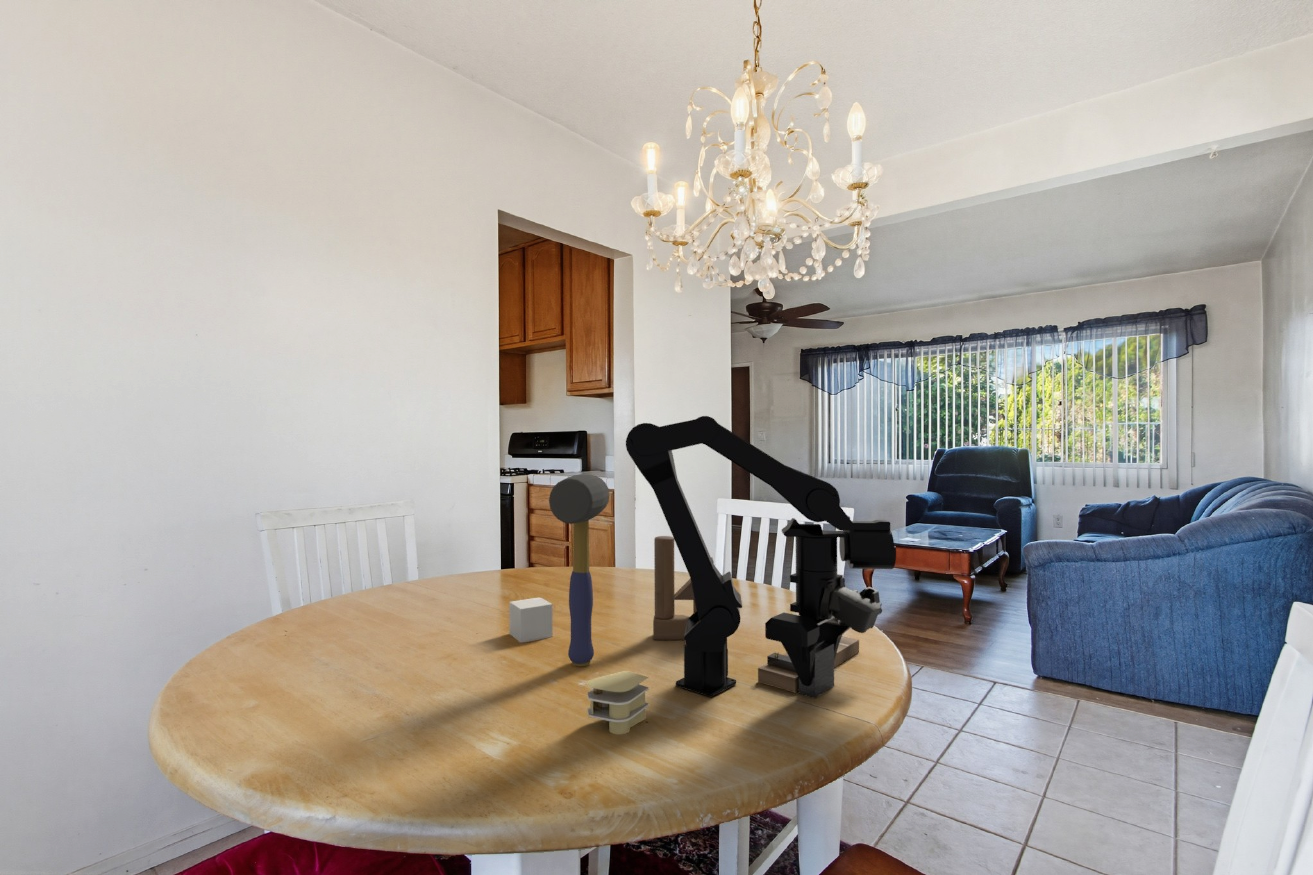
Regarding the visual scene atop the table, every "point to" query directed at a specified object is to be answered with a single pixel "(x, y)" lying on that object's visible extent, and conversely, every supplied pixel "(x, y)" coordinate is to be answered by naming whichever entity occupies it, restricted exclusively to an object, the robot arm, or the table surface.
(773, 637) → the robot arm
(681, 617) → the brown post on base
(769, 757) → the table surface
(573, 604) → the rubber mallet
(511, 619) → the grey cube
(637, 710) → the toy house
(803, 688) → the marking gauge
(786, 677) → the walnut board
